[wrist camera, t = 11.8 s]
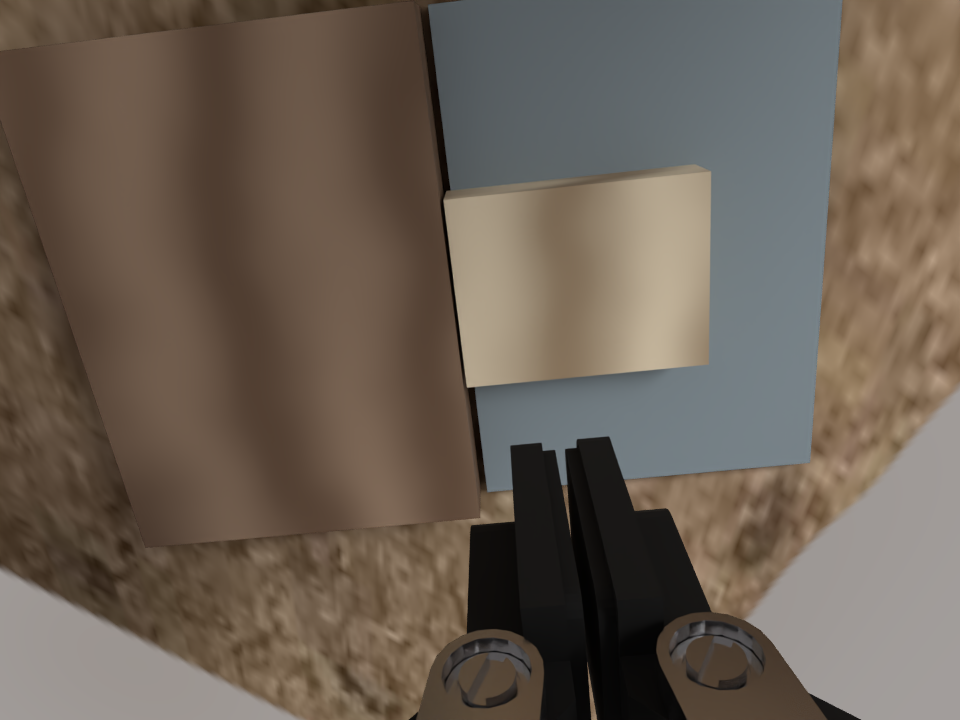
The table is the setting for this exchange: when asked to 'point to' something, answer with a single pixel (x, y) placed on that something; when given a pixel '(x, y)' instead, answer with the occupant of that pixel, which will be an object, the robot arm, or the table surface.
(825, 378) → the table surface
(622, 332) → the tile
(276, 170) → the block
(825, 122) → the mat
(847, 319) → the table surface
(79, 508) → the table surface
